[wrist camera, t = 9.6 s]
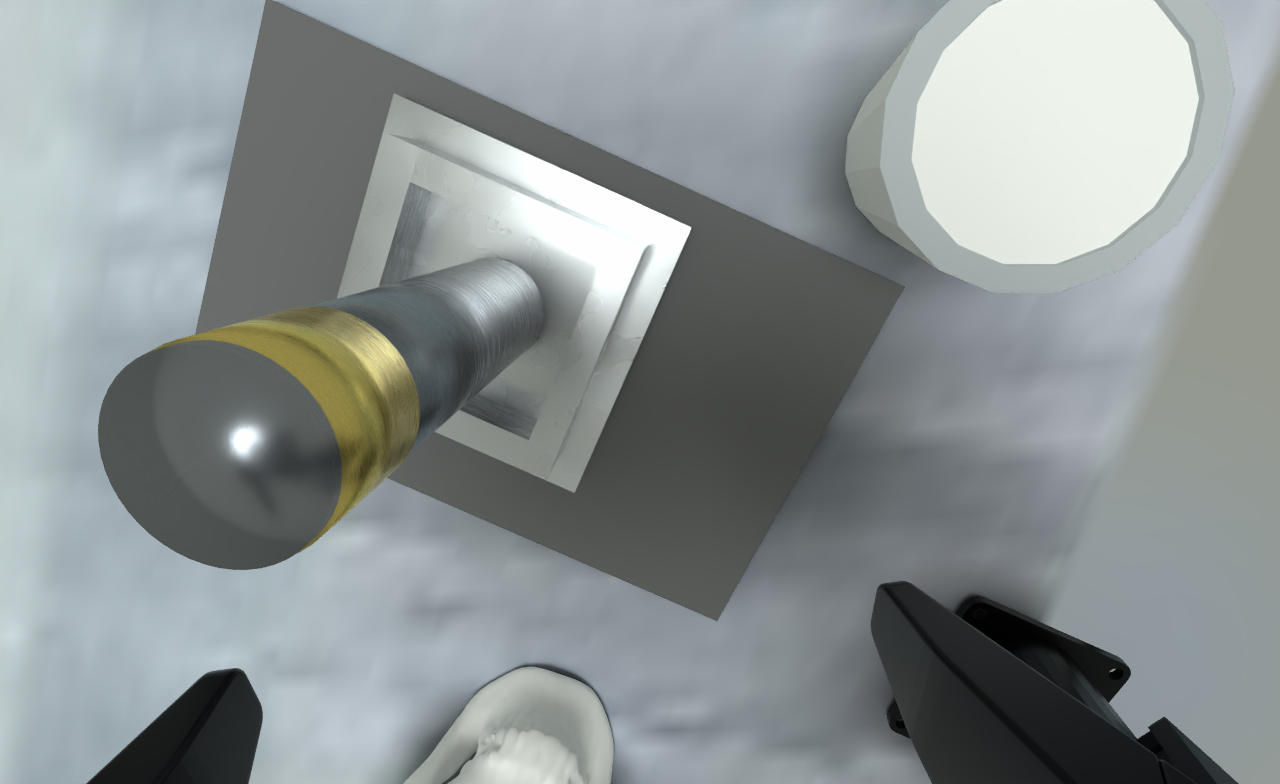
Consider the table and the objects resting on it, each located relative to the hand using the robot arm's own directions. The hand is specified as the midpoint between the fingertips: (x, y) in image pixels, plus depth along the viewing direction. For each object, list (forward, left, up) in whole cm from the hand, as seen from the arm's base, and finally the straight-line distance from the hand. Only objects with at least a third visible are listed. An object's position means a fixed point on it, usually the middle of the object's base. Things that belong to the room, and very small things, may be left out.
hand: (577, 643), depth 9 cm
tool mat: (+5, +1, -14) cm, 15 cm away
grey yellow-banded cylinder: (+6, 0, -13) cm, 14 cm away
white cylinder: (-5, -10, -14) cm, 19 cm away
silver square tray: (+6, 0, -14) cm, 15 cm away
